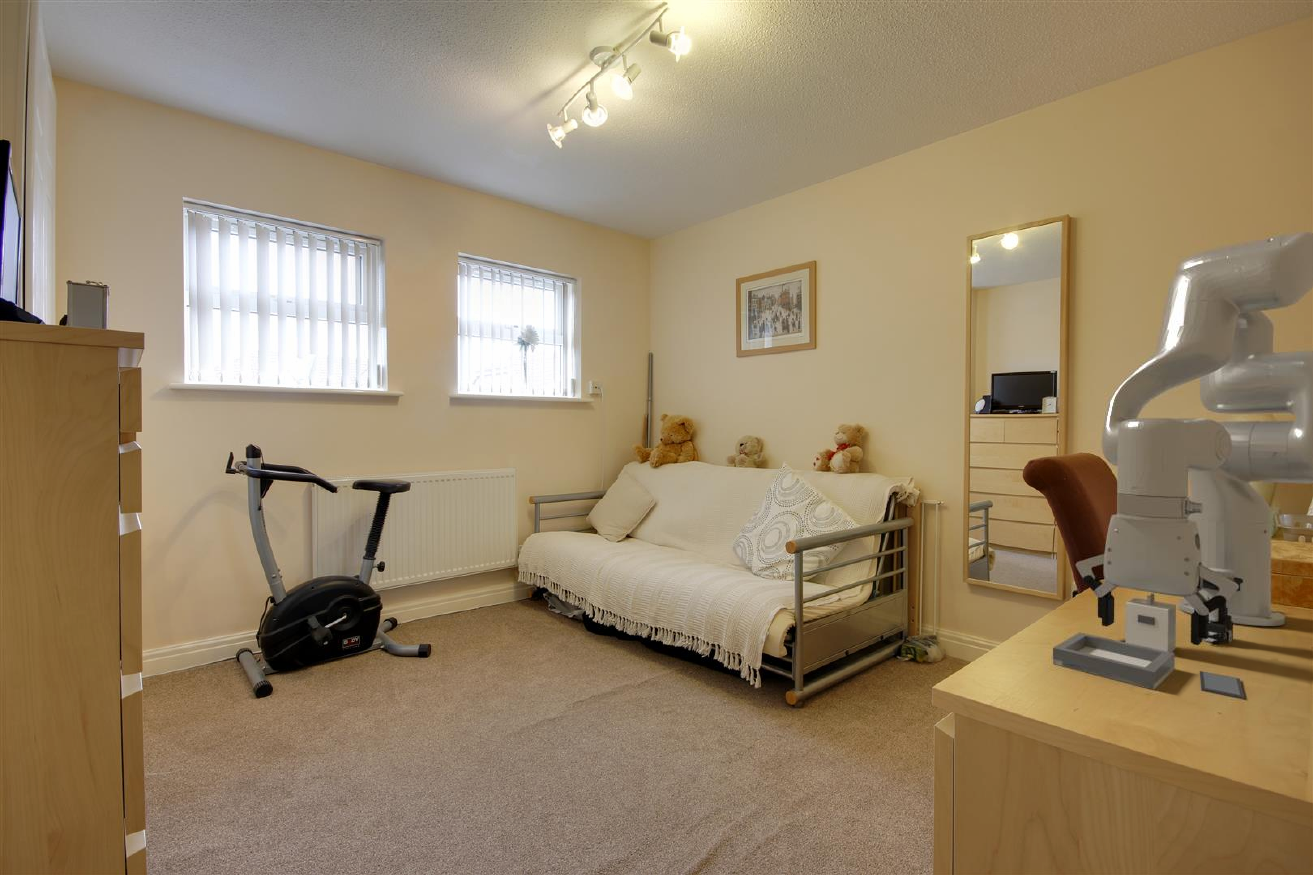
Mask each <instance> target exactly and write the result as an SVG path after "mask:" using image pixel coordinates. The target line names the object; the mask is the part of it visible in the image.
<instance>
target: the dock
mask: <svg viewBox="0 0 1313 875" xmlns="http://www.w3.org/2000/svg"><path fill="white" fill-rule="evenodd" d="M1175 657H1176V654H1175V652H1167V651H1162V650H1158V649H1153V648H1149V647H1144V646H1139V645H1135V644H1130V643H1126V642H1124V641H1120V640H1115V639H1111V638H1107V637H1102V636H1098V635H1094V634H1088V633H1084V632H1077V633H1076V634H1074V635H1073V636H1071V637H1069V638H1067V639H1066V640H1064V641H1062V642H1061V643H1059V644H1057V645H1056V646H1053V647H1052V664H1053V665H1058V666H1060V667H1061V666H1062V667H1065V668H1069V669H1072V670H1077V671H1080V672H1084V673H1088V674H1091V675H1096V676H1099V677H1102V678H1107V679H1110V680H1115V681H1118V682H1122V683H1124V684H1125V683H1126V684H1130V685H1133V686H1137V687H1141V688H1146V689H1149V690H1153V691H1154V690H1156V688H1157V687H1158V686H1160V685H1161V684H1162V682H1163V681H1165V679H1166V678H1167V677H1168V676H1169V675H1170V674H1172V672H1174V670H1175V666H1176V664H1175V663H1176V661H1175V660H1176V658H1175Z"/></svg>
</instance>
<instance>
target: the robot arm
mask: <svg viewBox="0 0 1313 875" xmlns="http://www.w3.org/2000/svg"><path fill="white" fill-rule="evenodd" d="M1312 289H1313V232H1311V231H1299V232H1298V231H1297V232H1293V233H1292V232H1291V233H1286V234H1283V235H1275V236H1272V237H1267V238H1262V239H1257V240H1253V241H1248V242H1242V243H1236V244H1232V245H1226V246H1221V247H1217V248H1212V249H1208V250H1204V251H1202V252H1198V253H1195V254H1193V255H1190V256H1188V257H1186V258H1185V259H1183V260H1182V261H1181V262H1180V263H1179V264H1178V265H1177V267H1176V270H1175V276H1174V277H1173V278H1172V280H1171V282H1170V284H1169V286H1168V289H1167V290H1168V291H1167V294H1166V300H1165V306H1164V310H1163V315H1162V321H1161V324H1160V325H1161V326H1160V330H1159V335H1158V339H1157V345H1156V349H1155V352H1154V354H1153V355H1152V356H1151V357H1150V358H1148V359H1147V360H1145V362H1143V363H1142V364H1140V365H1139V366H1138V367H1137V368H1136V369H1134V370H1133V371H1132V372H1131V373H1130V374H1128V375H1129V376H1127V378H1125V379H1124V380H1123V381H1122V383H1121V384H1120V385H1119V386H1118V387H1117V388H1116V389H1115V391H1114V392H1113V394H1112V396H1111V398H1110V400H1109V401H1108V402H1109V403H1108V407H1107V410H1106V414H1105V420H1104V423H1103V429H1102V433H1101V434H1102V435H1101V450H1102V454H1103V456H1104V458H1105V460H1106V461H1107V462H1108V463H1109V464H1111V465H1112V466H1115V467H1116V468H1117V474H1116V475H1117V480H1116V481H1117V482H1116V483H1117V486H1116V494H1117V496H1116V514H1112V515H1111V517H1110V520H1109V524H1108V529H1107V535H1106V540H1105V549H1104V553H1103V554H1099V555H1096V556H1093V557H1089V558H1087V559H1083V560H1079V561H1077V562H1075V567H1076V569H1077V571H1078V572H1079V574H1080V576H1081V577H1082V580H1083V582H1084V583H1085V584H1086V585H1087V586H1088V587H1089V588H1090V589H1091V591H1092V592H1093V593H1094V596H1095V597H1097V618H1099V619H1101V625H1102V627H1109V626H1111V625H1113V624H1114V623H1115V596H1114V595H1113V594H1112V592H1113V591H1114V590H1115V589H1116V588H1117V587H1118V588H1122V589H1123V588H1124V589H1129V590H1134V591H1141V592H1148V593H1151V594H1158V595H1165V596H1171V597H1179V598H1181V597H1183V598H1181V599H1179V600H1178V601H1177V606H1178V608H1179V610H1181V611H1182V612H1185V613H1188V614H1190V643H1191V644H1192V645H1193V646H1194V645H1195V646H1199V645H1201V643H1202V642H1204V639H1208V636H1209V613H1210V612H1212V611H1214V610H1216V609H1217V608H1219V607H1221V606H1223V605H1224V604H1225V603H1226V607H1227V608H1228V615H1230V616H1231V621H1233V624H1237V625H1238V624H1239V625H1244V626H1258V627H1259V626H1260V627H1278V626H1283V625H1284V624H1285V621H1286V617H1285V616H1284V615H1283V614H1282V613H1280V612H1278V611H1275V610H1272V609H1271V607H1272V606H1271V601H1272V599H1271V598H1272V595H1271V594H1272V593H1271V592H1272V582H1271V581H1272V523H1273V522H1272V518H1273V517H1272V510H1271V507H1270V505H1269V503H1268V502H1267V500H1265V498H1264V497H1263V496H1262V495H1261V494H1260V493H1259V492H1258V491H1257V490H1256V489H1255V488H1254V487H1253V486H1252V485H1251V484H1250V483H1251V482H1254V483H1255V482H1258V483H1259V482H1265V483H1266V482H1267V483H1285V484H1287V483H1289V484H1313V350H1297V351H1283V352H1274V348H1273V347H1274V331H1275V330H1274V324H1273V323H1272V320H1270V318H1269V317H1268V316H1267V315H1266V314H1265V313H1264V312H1263V311H1269V310H1270V311H1271V310H1277V309H1283V308H1288V307H1291V306H1293V305H1295V304H1296V303H1298V302H1299V301H1301V300H1302V299H1303V298H1304V297H1305V295H1306V294H1308V293H1309V292H1310V291H1311V290H1312ZM1196 379H1200V381H1199V382H1200V383H1199V394H1200V396H1199V397H1200V401H1201V404H1202V406H1203V407H1204V408H1205V409H1206V410H1208V411H1210V412H1211V413H1212V412H1213V413H1217V414H1225V415H1226V414H1228V415H1229V414H1230V415H1244V414H1245V415H1252V414H1253V415H1254V414H1257V415H1258V414H1262V415H1263V414H1290V415H1294V416H1295V420H1272V421H1271V420H1267V421H1266V420H1265V421H1263V420H1262V421H1259V420H1253V421H1252V420H1250V421H1249V420H1245V421H1242V420H1241V421H1239V420H1238V421H1236V420H1234V421H1233V420H1232V421H1215V420H1213V419H1209V418H1203V417H1192V418H1191V417H1189V418H1187V417H1186V418H1185V417H1182V418H1181V417H1178V418H1170V417H1169V418H1167V417H1166V418H1164V417H1163V418H1162V417H1159V418H1158V417H1147V418H1145V417H1143V418H1138V416H1139V415H1140V413H1141V412H1142V410H1143V408H1145V406H1147V405H1148V404H1149V403H1150V402H1151V401H1153V400H1154V399H1155V398H1157V397H1158V396H1160V395H1162V394H1164V393H1166V392H1168V391H1169V390H1172V389H1175V388H1177V387H1179V386H1183V385H1184V384H1187V383H1190V382H1192V381H1194V380H1196ZM1189 484H1190V485H1189ZM1189 486H1190V496H1189ZM1189 517H1190V520H1189ZM1100 565H1103V578H1104V580H1105V581H1104V582H1101V580H1100V579H1099V578H1098V577H1097V576H1096V575H1094V573H1093V570H1092V568H1093V567H1097V566H1100ZM1206 567H1212V568H1221V569H1227V570H1231V571H1234V576H1236V577H1237V578H1241V579H1243V583H1240V591H1236V590H1237V589H1238V587H1239V586H1238V584H1237V583H1235V582H1233V581H1231V580H1230V579H1228V578H1226V577H1224V576H1222V575H1220V574H1218V573H1216V572H1214V571H1212V570H1210V569H1208V568H1206ZM1203 579H1205V580H1207V581H1209V582H1211V583H1213V584H1215V585H1217V586H1218V587H1219V589H1220V590H1219V592H1218V593H1217V594H1216V596H1214V597H1213V598H1211V599H1209V600H1208V596H1209V593H1208V592H1207V591H1205V590H1202V586H1203ZM1203 638H1204V639H1203Z"/></svg>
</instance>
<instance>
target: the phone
mask: <svg viewBox="0 0 1313 875" xmlns="http://www.w3.org/2000/svg"><path fill="white" fill-rule="evenodd" d="M1199 676H1200V677H1199V678H1200V679H1199V680H1200V690H1201V692H1206V693H1211V694H1216V695H1220V696H1224V697H1230V698H1235V699H1239V700H1246V699H1245V694H1244V690H1243V687H1242V682H1241V679H1240V678H1237V677H1235V676H1234V677H1233V676H1228V675H1224V674H1223V675H1222V674H1218V673H1213V672H1206V671H1202V670H1200V671H1199Z"/></svg>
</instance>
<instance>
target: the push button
mask: <svg viewBox="0 0 1313 875" xmlns="http://www.w3.org/2000/svg"><path fill="white" fill-rule="evenodd" d="M1206 568H1208V569H1210V570H1212V571H1214V572H1216V573H1218V574H1220V575H1222V576H1224V577H1226V578H1228V579H1230V580H1231V581H1233V582H1235V583H1237V584H1238V586H1239V587H1238V589H1237V590H1236V591H1240V583H1243V579H1241V578H1237V577H1236V576H1234V571H1231V570H1227V569H1221V568H1212V567H1206ZM1202 590H1205V591H1207V592H1208V593H1209V596H1208V600H1209V599H1211V598H1213V597H1214V596H1216V594H1217V593H1218V592H1219V590H1220V589H1219V587H1218V586H1217V585H1215V584H1213V583H1211V582H1209V581H1207V580H1205V579H1203V586H1202ZM1233 638H1234V623H1233V621H1231V616H1230V615H1228V608H1227V607H1226V603H1225V604H1224V605H1223V606H1221V607H1219V608H1217V609H1216V610H1214V611H1212V612H1210V613H1209V636H1208V639H1204V638H1203V642H1209V643H1213V644H1218V645H1220V644H1223V643H1225V642H1227V641H1228V642H1229V643H1231V642H1232V641H1233Z"/></svg>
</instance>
